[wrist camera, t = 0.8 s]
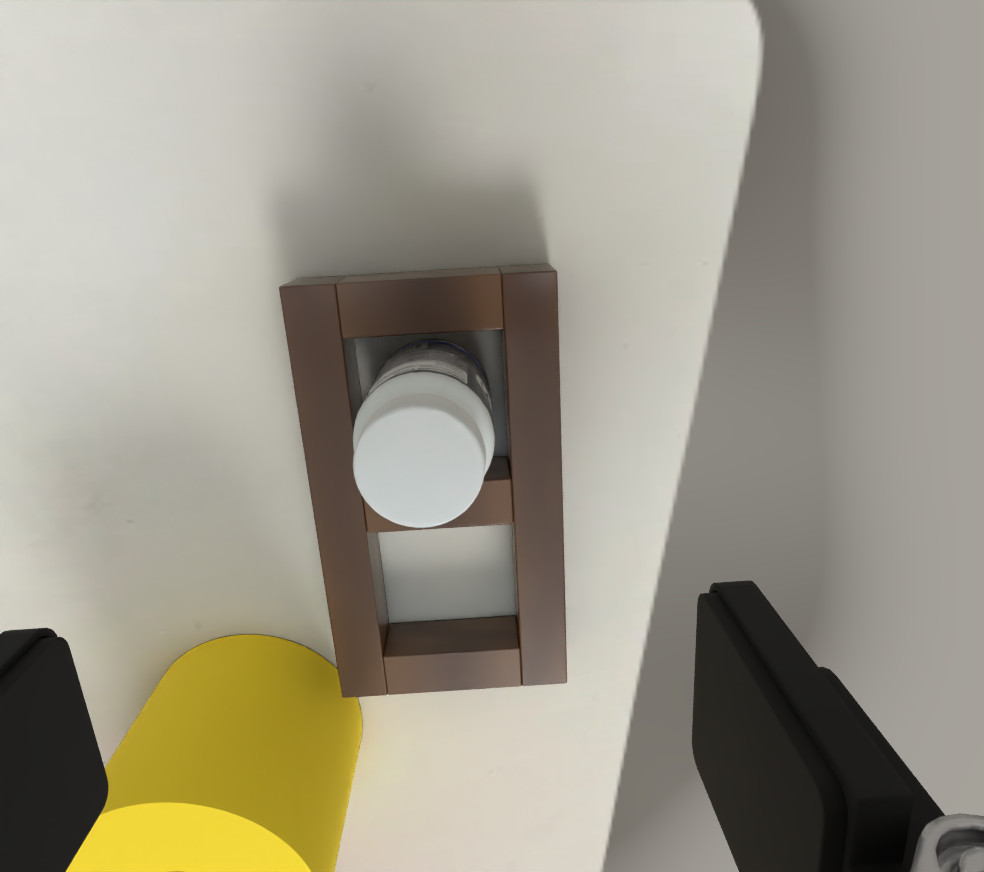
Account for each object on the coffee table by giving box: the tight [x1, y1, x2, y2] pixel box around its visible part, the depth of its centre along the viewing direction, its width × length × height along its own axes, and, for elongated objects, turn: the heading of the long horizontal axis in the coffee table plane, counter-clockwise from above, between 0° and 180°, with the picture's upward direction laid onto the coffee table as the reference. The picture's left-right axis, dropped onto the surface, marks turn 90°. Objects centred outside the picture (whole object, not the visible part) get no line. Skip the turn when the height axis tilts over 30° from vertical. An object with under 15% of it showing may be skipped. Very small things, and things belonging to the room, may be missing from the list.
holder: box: [279, 264, 567, 698], centre depth 29 cm, size 10×18×2 cm, turn 3°
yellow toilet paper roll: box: [66, 635, 362, 872], centre depth 30 cm, size 10×10×9 cm
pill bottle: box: [353, 339, 495, 528], centre depth 25 cm, size 5×5×8 cm
